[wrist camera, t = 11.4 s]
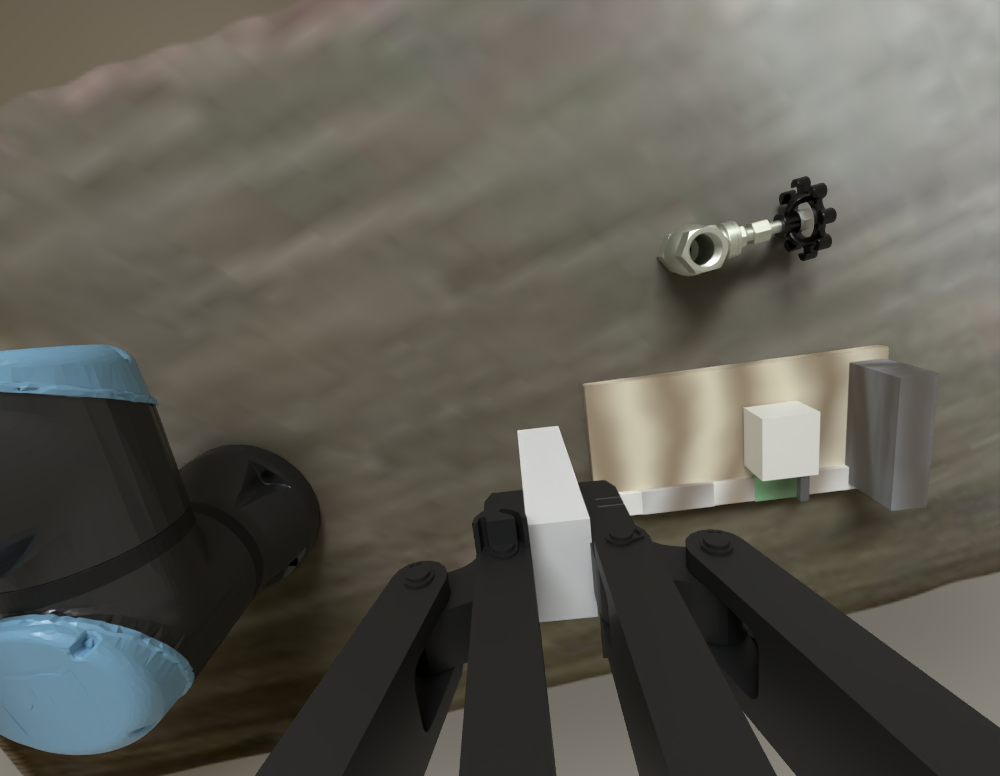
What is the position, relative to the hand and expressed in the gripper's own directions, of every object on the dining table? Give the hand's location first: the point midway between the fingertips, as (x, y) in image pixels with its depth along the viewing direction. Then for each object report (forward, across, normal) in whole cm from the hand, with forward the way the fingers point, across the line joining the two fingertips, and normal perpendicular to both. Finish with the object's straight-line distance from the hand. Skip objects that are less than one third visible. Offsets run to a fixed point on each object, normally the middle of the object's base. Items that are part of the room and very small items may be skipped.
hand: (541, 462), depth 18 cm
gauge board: (+29, +20, -12) cm, 37 cm away
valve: (+29, +19, +7) cm, 35 cm away
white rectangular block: (+27, +23, -13) cm, 38 cm away
